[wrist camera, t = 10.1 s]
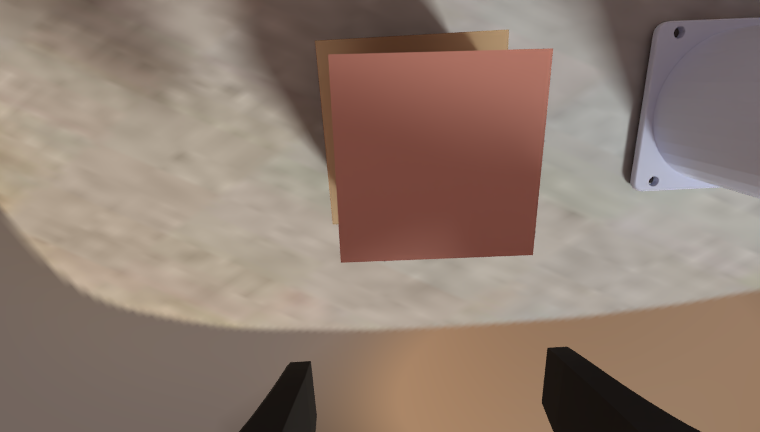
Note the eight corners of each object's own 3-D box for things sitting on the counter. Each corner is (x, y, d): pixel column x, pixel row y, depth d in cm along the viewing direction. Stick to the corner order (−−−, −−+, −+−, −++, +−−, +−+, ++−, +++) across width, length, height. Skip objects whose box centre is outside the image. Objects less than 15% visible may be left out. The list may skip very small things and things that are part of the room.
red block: (483, 60, 13) (553, 48, 8) (476, 197, 14) (532, 254, 10) (341, 64, 13) (328, 54, 8) (348, 202, 14) (341, 262, 10)
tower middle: (479, 40, 16) (508, 29, 13) (475, 188, 18) (501, 213, 15) (325, 48, 16) (314, 40, 13) (338, 197, 18) (333, 224, 15)
